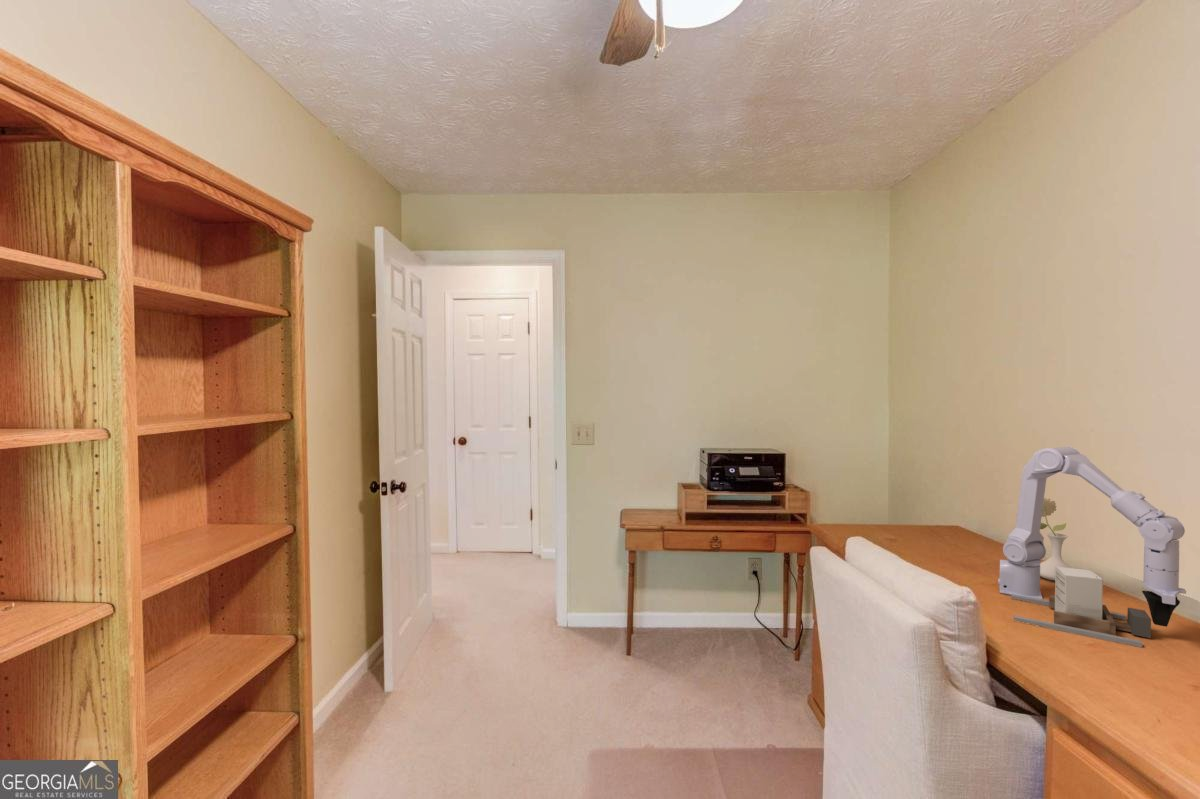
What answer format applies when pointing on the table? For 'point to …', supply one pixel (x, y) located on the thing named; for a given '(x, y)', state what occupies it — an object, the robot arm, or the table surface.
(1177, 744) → the table surface
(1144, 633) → the bench vise
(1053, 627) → the guide rails
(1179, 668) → the table surface
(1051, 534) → the flower in vase
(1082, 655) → the table surface
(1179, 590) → the robot arm
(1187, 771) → the table surface
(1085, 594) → the supplement box
